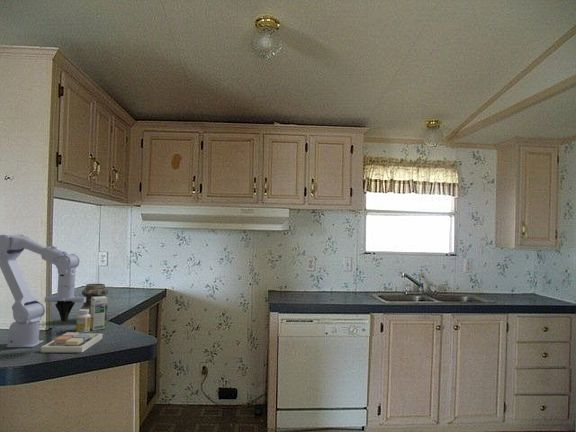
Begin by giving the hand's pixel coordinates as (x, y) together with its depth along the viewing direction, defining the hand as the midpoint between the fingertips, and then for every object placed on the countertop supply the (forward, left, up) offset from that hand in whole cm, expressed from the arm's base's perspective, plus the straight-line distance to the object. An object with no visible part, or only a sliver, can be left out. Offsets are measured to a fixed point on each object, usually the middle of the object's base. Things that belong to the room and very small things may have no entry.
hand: (64, 321), depth 146 cm
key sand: (+5, -3, -8) cm, 10 cm away
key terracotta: (0, 0, -8) cm, 8 cm away
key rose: (0, +6, -8) cm, 10 cm away
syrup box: (+1, +29, -10) cm, 31 cm away
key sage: (+5, +8, -9) cm, 14 cm away
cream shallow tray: (+3, +3, -10) cm, 11 cm away
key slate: (+6, +3, -8) cm, 10 cm away
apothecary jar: (-7, +44, -10) cm, 46 cm away
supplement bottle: (-3, +23, -10) cm, 25 cm away
